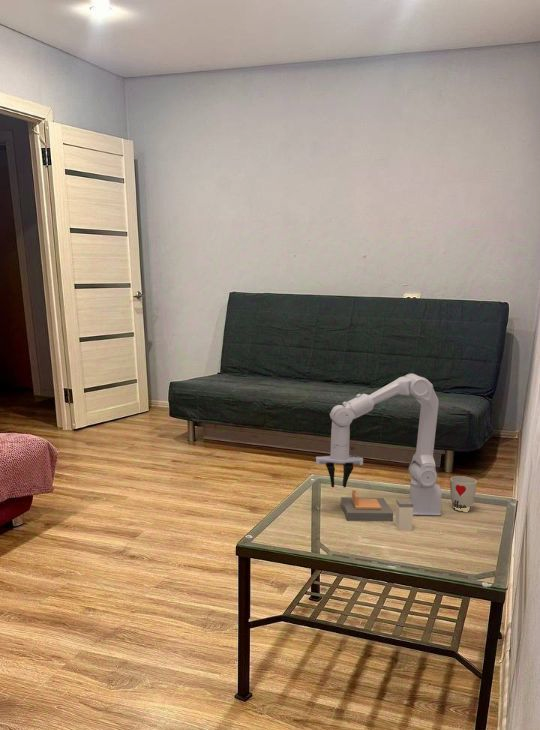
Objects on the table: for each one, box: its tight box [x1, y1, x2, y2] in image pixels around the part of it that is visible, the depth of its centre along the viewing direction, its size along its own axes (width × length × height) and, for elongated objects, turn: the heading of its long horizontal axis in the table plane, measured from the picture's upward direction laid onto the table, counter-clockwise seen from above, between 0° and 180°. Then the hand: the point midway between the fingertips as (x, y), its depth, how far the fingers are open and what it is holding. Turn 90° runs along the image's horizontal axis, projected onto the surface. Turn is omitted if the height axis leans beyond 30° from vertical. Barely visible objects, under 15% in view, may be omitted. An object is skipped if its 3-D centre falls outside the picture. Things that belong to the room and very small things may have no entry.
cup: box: [449, 475, 478, 509], centre depth 192 cm, size 8×8×10 cm
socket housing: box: [340, 496, 394, 522], centre depth 188 cm, size 14×14×2 cm
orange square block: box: [351, 489, 382, 509], centre depth 187 cm, size 8×8×4 cm
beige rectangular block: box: [394, 498, 414, 532], centre depth 176 cm, size 4×4×8 cm
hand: (338, 486), depth 187 cm, fingers open, 3 cm apart
